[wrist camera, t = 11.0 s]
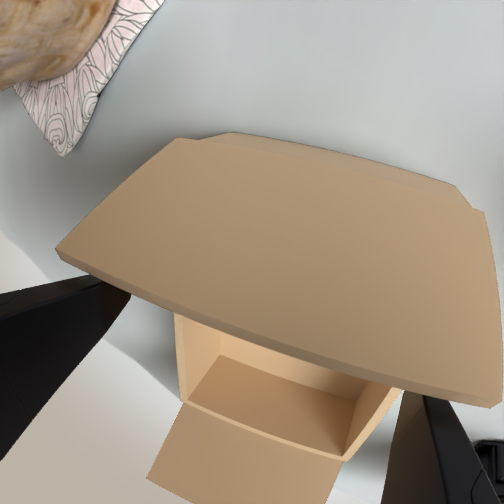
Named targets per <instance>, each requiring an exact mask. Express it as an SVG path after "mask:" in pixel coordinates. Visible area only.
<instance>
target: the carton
mask: <svg viewBox="0 0 504 504" xmlns="http://www.w3.org/2000/svg"><path fill="white" fill-rule="evenodd" d="M200 140H201V141H208V142H215V143H221V144H227V145H233V146H239V147H245V148H251V149H256V150H261V151H267V152H272V153H277V154H282V155H287V156H291V157H296V158H301V159H305V160H310V161H314V162H319V163H323V164H327V165H331V166H336V167H340V168H344V169H348V170H352V171H355V172H359V173H363V174H367V175H370V176H374V177H378V178H381V179H385V180H388V181H392V182H395V183H399V184H402V185H405V186H409V187H412V188H415V189H418V190H422V191H425V192H428V193H431V194H434V195H437V196H440V197H443V198H446V199H449V200H452V201H455V202H458V203H460V204H463V205H466V206H469V207H472V206H471V205H470V204H469V202H468V201H467V200H466V199H465V197H464V196H463V195H462V194H461V192H460V191H459V190H458V189H457V187H456V186H453V185H450V184H447V183H444V182H442V181H439V180H436V179H432V178H429V177H426V176H423V175H420V174H417V173H413V172H410V171H407V170H404V169H400V168H397V167H393V166H390V165H386V164H383V163H379V162H375V161H372V160H368V159H364V158H360V157H356V156H352V155H348V154H344V153H340V152H336V151H331V150H327V149H322V148H318V147H313V146H309V145H304V144H299V143H294V142H289V141H284V140H278V139H273V138H267V137H262V136H256V135H250V134H243V133H237V132H230V133H226V134H221V135H217V136H213V137H209V138H204V139H200ZM174 327H175V342H176V356H177V369H178V380H179V391H180V401H182V402H184V403H186V404H188V405H191V406H193V407H195V408H197V409H199V410H201V411H203V412H206V413H208V414H210V415H212V416H215V417H217V418H219V419H222V420H224V421H226V422H229V423H231V424H234V425H236V426H238V427H241V428H243V429H246V430H249V431H251V432H254V433H256V434H259V435H262V436H264V437H267V438H270V439H273V440H275V441H278V442H281V443H284V444H287V445H290V446H293V447H296V448H299V449H302V450H306V451H309V452H312V453H316V454H319V455H322V456H326V457H329V458H333V459H337V460H341V461H344V462H348V461H349V460H350V458H351V457H352V456H353V455H354V454H355V452H356V451H357V450H358V449H359V448H360V446H361V445H362V444H363V443H364V441H365V440H366V439H367V438H368V436H369V435H370V434H371V433H372V431H373V430H374V429H375V427H376V426H377V425H378V423H379V422H380V421H381V419H382V418H383V417H384V415H385V414H386V413H387V411H388V410H389V408H390V407H391V406H392V404H393V403H394V401H395V400H396V398H397V397H398V395H399V394H400V392H401V391H402V389H398V388H394V387H390V386H387V385H383V384H379V383H376V382H372V381H368V380H365V379H361V378H358V377H354V376H351V375H347V374H344V373H341V372H337V371H334V370H331V369H328V368H324V367H321V366H318V365H315V364H312V363H309V362H306V361H303V360H300V359H297V358H294V357H291V356H288V355H285V354H282V353H279V352H276V351H273V350H270V349H267V348H265V347H262V346H259V345H256V344H253V343H251V342H248V341H245V340H242V339H240V338H237V337H234V336H232V335H229V334H227V333H224V332H221V331H219V330H216V329H214V328H211V327H209V326H206V325H203V324H201V323H198V322H196V321H194V320H191V319H189V318H186V317H184V316H181V315H179V314H177V313H174Z"/></svg>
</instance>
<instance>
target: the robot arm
mask: <svg viewBox="0 0 504 504" xmlns="http://www.w3.org/2000/svg"><path fill="white" fill-rule="evenodd" d="M130 298H131V293H129V292H126V291H124V290H122V289H120V288H118V287H116V286H113V285H111V284H109V283H107V282H105V281H103V280H101V279H99V278H97V277H95V276H93V275H91V274H89V275H85V276H80V277H76V278H71V279H66V280H62V281H57V282H53V283H48V284H43V285H39V286H35V287H31V288H25V289H22V290H17V291H12V292H7V293H2V294H0V461H1V460H2V459H3V458H4V457H5V455H6V454H7V453H8V451H9V450H10V449H11V447H12V446H13V445H14V444H15V442H16V440H18V438H19V437H20V436H21V434H22V433H23V432H24V430H25V429H26V428H27V427H28V426H29V424H30V423H31V422H32V419H34V418H35V416H36V415H37V414H38V413H39V411H40V410H41V409H42V408H43V406H44V405H45V404H46V403H47V402H48V400H49V399H50V398H51V397H52V395H53V394H54V393H55V392H56V391H57V389H58V388H59V387H60V386H61V384H62V383H63V382H64V381H65V380H66V379H67V377H68V376H69V375H70V374H71V373H72V372H73V370H74V369H75V368H76V367H77V365H79V363H80V362H81V361H82V360H83V359H84V357H85V356H86V355H87V354H88V353H89V352H90V351H91V349H92V348H93V347H94V346H95V345H96V344H97V343H98V341H99V340H100V339H101V338H102V337H103V336H104V334H105V333H106V332H107V331H108V329H109V328H110V326H111V325H112V324H113V322H114V321H115V320H116V318H117V317H118V315H119V314H120V313H121V311H122V310H123V309H124V307H125V306H126V304H127V303H128V302H129V300H130ZM381 504H504V443H497V442H488V441H483V442H480V443H479V444H478V445H477V446H476V447H474V448H473V446H472V444H471V442H470V440H469V438H468V436H467V434H466V432H465V430H464V428H463V426H462V424H461V423H460V421H459V419H458V417H457V415H456V413H455V411H454V410H453V408H452V406H451V404H450V402H449V401H448V400H444V399H440V398H435V397H431V396H427V395H422V394H418V393H414V392H410V391H406V390H405V391H404V393H403V397H402V401H401V406H400V411H399V415H398V419H397V424H396V428H395V432H394V436H393V440H392V445H391V450H390V457H389V463H388V469H387V474H386V480H385V485H384V490H383V495H382V500H381Z"/></svg>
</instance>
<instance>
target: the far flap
mask: <svg viewBox="0 0 504 504" xmlns="http://www.w3.org/2000/svg"><path fill="white" fill-rule="evenodd" d="M342 463H343V461H341V460H337V459H333V458H329V457H326V456H322V455H319V454H316V453H312V452H309V451H306V450H302V449H299V448H296V447H293V446H290V445H287V444H284V443H281V442H278V441H275V440H273V439H270V438H267V437H264V436H262V435H259V434H256V433H254V432H251V431H249V430H246V429H243V428H241V427H238V426H236V425H234V424H231V423H229V422H226V421H224V420H222V419H219V418H217V417H215V416H212V415H210V414H208V413H206V412H203V411H201V410H199V409H197V408H195V407H193V406H191V405H188V404H186V403H183V405H182V407H181V409H180V411H179V413H178V415H177V417H176V419H175V421H174V423H173V425H172V427H171V429H170V431H169V433H168V435H167V437H166V439H165V441H164V443H163V446H162V447H161V449H160V451H159V453H158V455H157V457H156V459H155V461H154V463H153V465H152V468H151V470H150V471H149V473H148V475H147V477H146V478H147V479H148V480H150V481H152V482H153V483H155V484H157V485H159V486H161V487H162V488H164V489H166V490H168V491H170V492H172V493H174V494H176V495H178V496H180V497H182V498H184V499H186V500H188V501H190V502H192V503H194V504H325V503H326V501H327V498H328V496H329V494H330V492H331V490H332V487H333V485H334V483H335V480H336V478H337V476H338V473H339V471H340V468H341V466H342Z"/></svg>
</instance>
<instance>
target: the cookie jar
mask: <svg viewBox="0 0 504 504" xmlns="http://www.w3.org/2000/svg"><path fill="white" fill-rule="evenodd" d="M163 2H164V0H0V92H1V91H3V90H5V89H7V88H9V87H10V86H12V87H13V88H14V89H15V92H16V94H18V95H19V97H22V98H21V100H22V102H23V105H24V107H25V108H26V109H27V110H28V115H29V116H31V117H32V119H33V121H34V123H35V124H36V126H37V128H40V129H41V130H42V131H43V134H44V138H45V139H46V140H48V141H49V143H50V144H51V145H52V146H53V147H54V149H55V151H57V153H58V154H59V156H60V157H62V158H63V157H64V156H65V155H66V154H68V153H69V152H70V151H71V150H72V149H73V148H74V146H75V145H76V144H77V142H78V141H79V139H80V137H81V136H82V134H83V132H84V130H85V129H86V127H87V125H88V123H89V121H90V118H91V116H92V113H93V111H94V108H95V106H96V103H97V101H98V98H99V96H100V93H101V92H102V90H103V89H104V87H105V86H106V84H107V83H108V81H109V80H110V78H111V77H112V75H113V74H114V72H115V71H116V69H117V67H118V66H119V64H120V62H121V60H122V59H123V57H124V55H125V54H126V52H127V50H128V49H129V47H130V46H131V44H132V42H133V41H134V40H135V39H136V37H137V36H138V34H139V33H140V31H141V30H142V29H143V27H144V26H145V25H146V23H147V22H148V21H149V20H150V18H151V17H152V16H153V15H154V13H155V12H156V10H157V9H158V8H159V7H160V6H161V5H162V3H163Z"/></svg>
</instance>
